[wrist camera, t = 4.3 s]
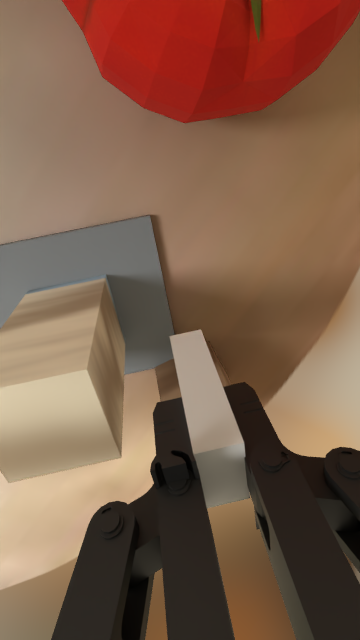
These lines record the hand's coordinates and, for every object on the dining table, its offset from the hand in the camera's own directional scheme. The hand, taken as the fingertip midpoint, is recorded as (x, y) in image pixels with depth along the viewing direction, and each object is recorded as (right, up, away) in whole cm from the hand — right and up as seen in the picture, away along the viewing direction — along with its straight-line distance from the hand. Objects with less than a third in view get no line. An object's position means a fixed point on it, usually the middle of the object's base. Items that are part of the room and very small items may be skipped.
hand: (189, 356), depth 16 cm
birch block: (-7, +2, +6) cm, 10 cm away
